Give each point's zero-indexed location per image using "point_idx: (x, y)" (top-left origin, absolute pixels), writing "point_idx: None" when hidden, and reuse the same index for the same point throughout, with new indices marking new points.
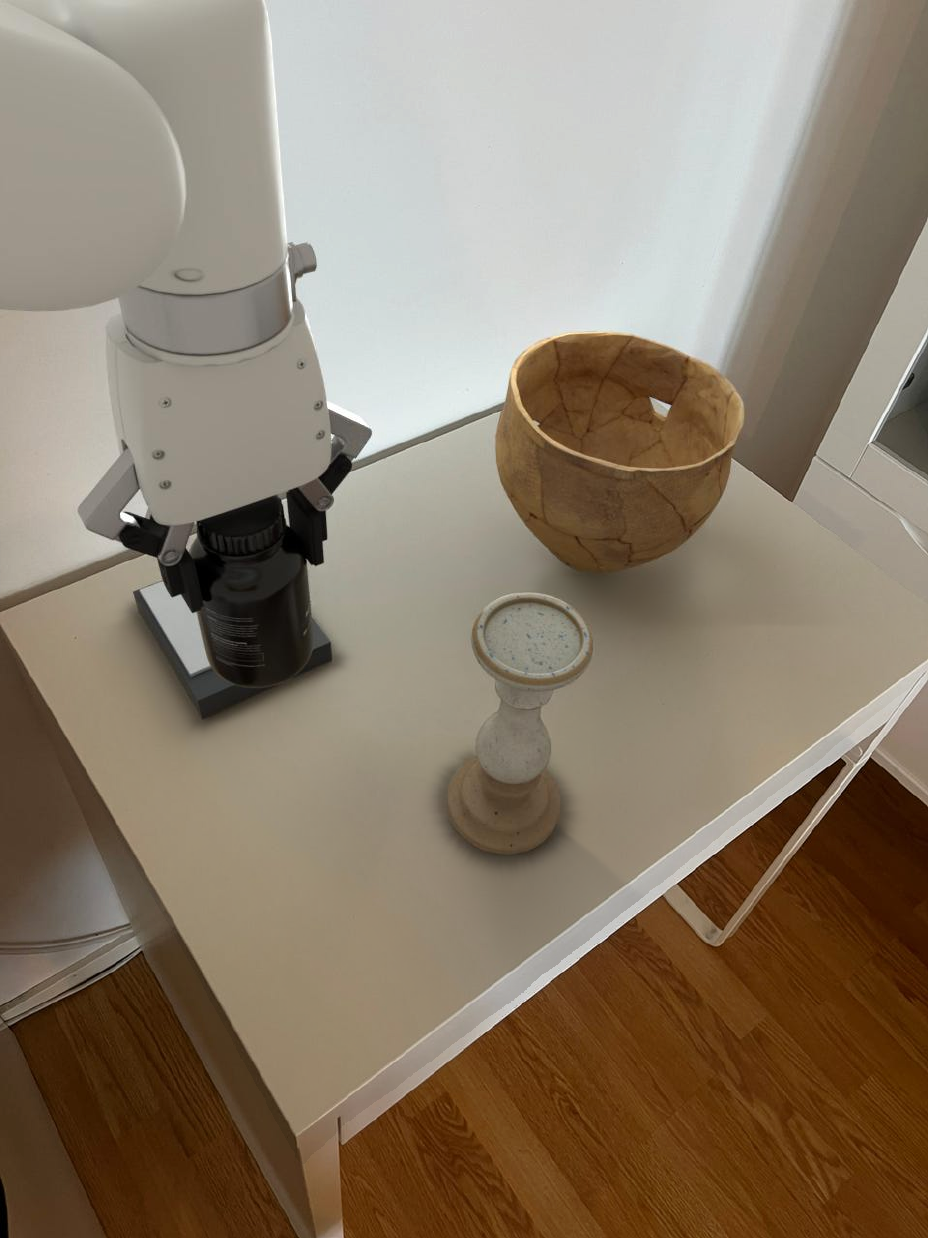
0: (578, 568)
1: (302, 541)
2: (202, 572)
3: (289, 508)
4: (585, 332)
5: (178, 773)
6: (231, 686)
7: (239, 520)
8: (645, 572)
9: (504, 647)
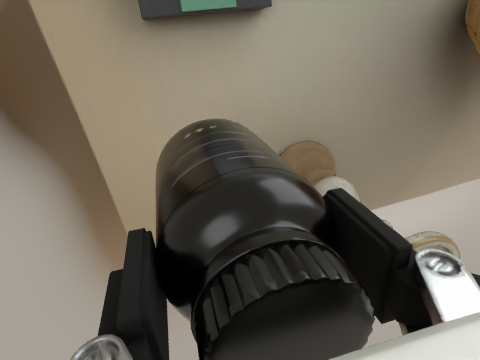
0: (469, 33)
1: None
2: (178, 307)
3: (361, 235)
4: None
5: (115, 66)
6: (175, 14)
7: None
8: None
9: None
